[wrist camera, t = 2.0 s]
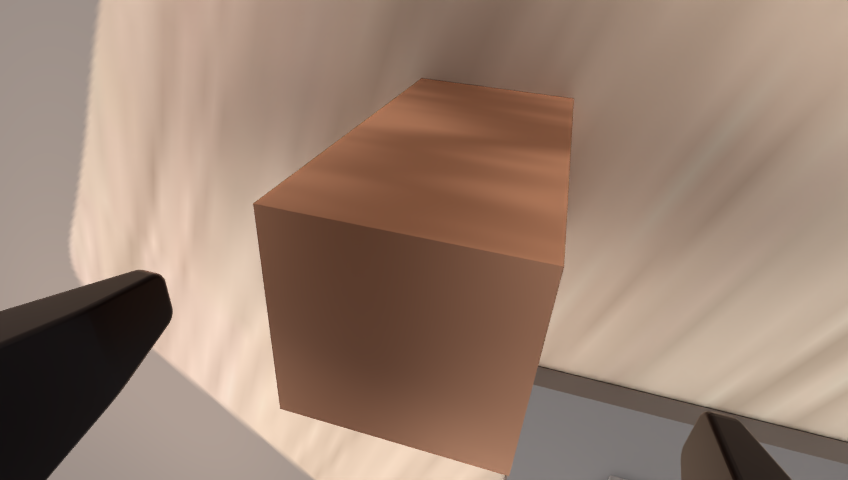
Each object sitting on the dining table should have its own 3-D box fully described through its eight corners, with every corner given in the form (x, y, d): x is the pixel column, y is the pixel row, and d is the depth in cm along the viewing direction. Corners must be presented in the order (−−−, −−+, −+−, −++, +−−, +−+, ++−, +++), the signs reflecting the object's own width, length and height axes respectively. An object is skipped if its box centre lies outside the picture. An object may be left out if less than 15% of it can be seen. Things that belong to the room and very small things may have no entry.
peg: (573, 98, 14) (563, 266, 6) (543, 234, 16) (508, 476, 9) (421, 78, 15) (252, 203, 7) (413, 210, 17) (279, 408, 9)
